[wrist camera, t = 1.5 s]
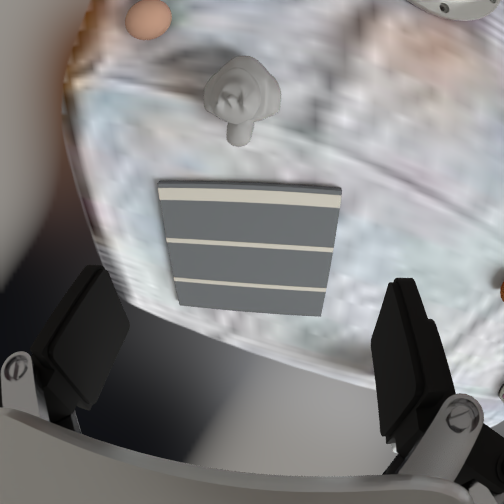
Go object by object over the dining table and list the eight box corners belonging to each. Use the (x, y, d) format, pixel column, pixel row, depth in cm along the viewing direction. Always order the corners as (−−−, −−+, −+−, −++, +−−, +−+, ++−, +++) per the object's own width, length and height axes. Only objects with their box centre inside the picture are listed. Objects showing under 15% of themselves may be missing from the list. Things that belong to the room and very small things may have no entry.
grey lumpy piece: (284, 58, 20) (281, 59, 14) (278, 137, 24) (272, 173, 18) (213, 55, 21) (179, 57, 14) (211, 133, 25) (181, 167, 18)
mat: (159, 181, 28) (157, 183, 27) (341, 188, 26) (342, 191, 26) (181, 301, 36) (179, 305, 36) (320, 312, 35) (320, 316, 34)
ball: (137, 5, 18) (116, 2, 16) (177, -2, 18) (160, -9, 15) (138, 43, 20) (117, 44, 18) (178, 37, 20) (161, 35, 17)
